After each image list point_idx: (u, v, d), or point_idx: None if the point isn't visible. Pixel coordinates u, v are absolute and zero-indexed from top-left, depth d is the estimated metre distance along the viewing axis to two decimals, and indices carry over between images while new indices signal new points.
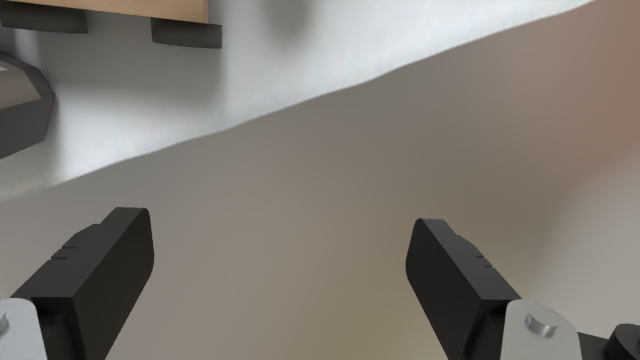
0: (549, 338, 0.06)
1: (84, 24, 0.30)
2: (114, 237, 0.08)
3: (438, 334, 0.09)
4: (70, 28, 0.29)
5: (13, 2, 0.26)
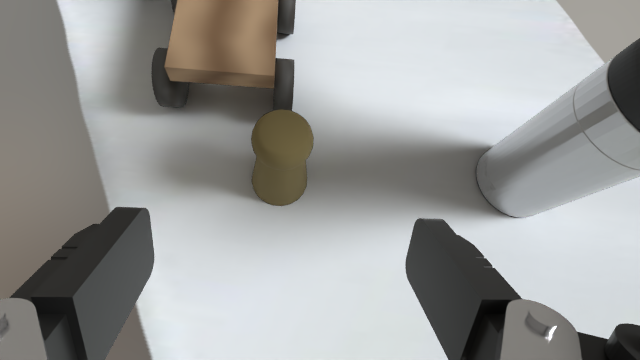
0: (549, 338, 0.06)
1: None
2: (114, 237, 0.08)
3: (438, 334, 0.09)
4: (174, 2, 0.38)
5: None
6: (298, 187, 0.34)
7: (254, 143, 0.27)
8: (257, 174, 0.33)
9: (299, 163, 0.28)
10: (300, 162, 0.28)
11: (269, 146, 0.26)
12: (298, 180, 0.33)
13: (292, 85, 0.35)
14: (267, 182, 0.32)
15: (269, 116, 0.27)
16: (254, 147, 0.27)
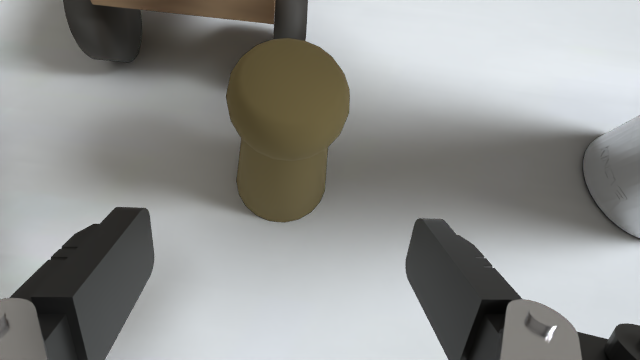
0: (549, 338, 0.06)
1: None
2: (114, 237, 0.08)
3: (438, 334, 0.09)
4: None
5: None
6: (313, 193, 0.20)
7: (230, 103, 0.13)
8: (243, 169, 0.19)
9: (322, 146, 0.14)
10: (325, 144, 0.14)
11: (262, 107, 0.12)
12: (314, 181, 0.19)
13: (304, 22, 0.21)
14: (260, 184, 0.18)
15: (262, 48, 0.13)
16: (231, 111, 0.13)
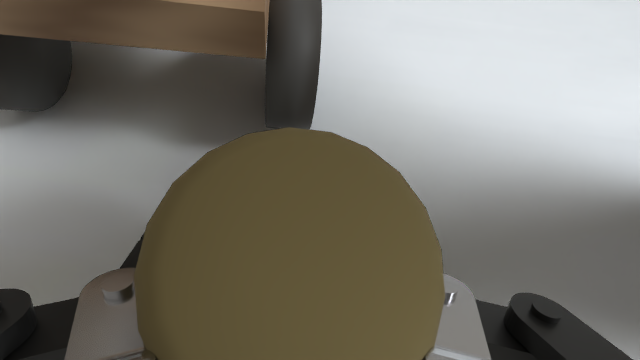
0: (446, 303, 0.07)
1: None
2: None
3: None
4: None
5: None
6: None
7: (137, 321, 0.05)
8: None
9: None
10: None
11: None
12: None
13: (317, 53, 0.13)
14: None
15: (226, 166, 0.05)
16: None
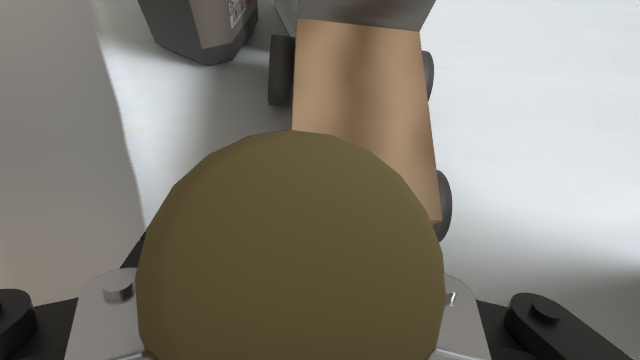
0: (446, 304, 0.07)
1: (277, 101, 0.30)
2: None
3: None
4: (272, 86, 0.28)
5: (293, 46, 0.28)
6: None
7: (138, 324, 0.05)
8: None
9: None
10: None
11: None
12: None
13: (449, 217, 0.25)
14: None
15: (228, 170, 0.05)
16: None
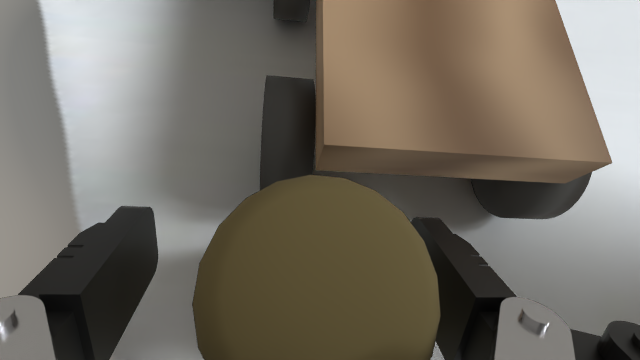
0: (542, 335, 0.06)
1: (286, 6, 0.19)
2: (119, 235, 0.08)
3: None
4: None
5: None
6: None
7: (198, 339, 0.06)
8: None
9: None
10: None
11: None
12: None
13: None
14: None
15: (266, 215, 0.06)
16: (201, 352, 0.06)
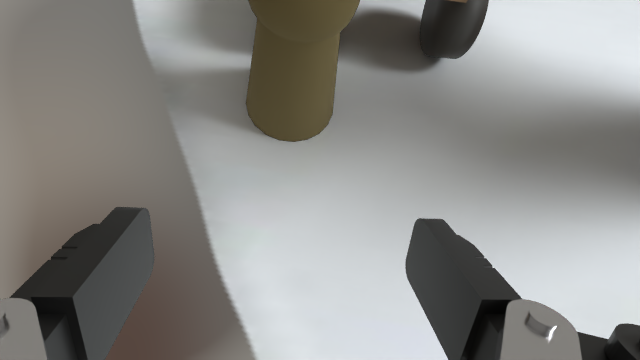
0: (549, 338, 0.06)
1: None
2: (114, 237, 0.08)
3: (438, 334, 0.09)
4: None
5: None
6: (323, 104, 0.20)
7: None
8: (255, 76, 0.19)
9: (337, 22, 0.14)
10: (339, 19, 0.14)
11: None
12: (325, 86, 0.19)
13: (486, 2, 0.22)
14: (272, 86, 0.18)
15: None
16: None
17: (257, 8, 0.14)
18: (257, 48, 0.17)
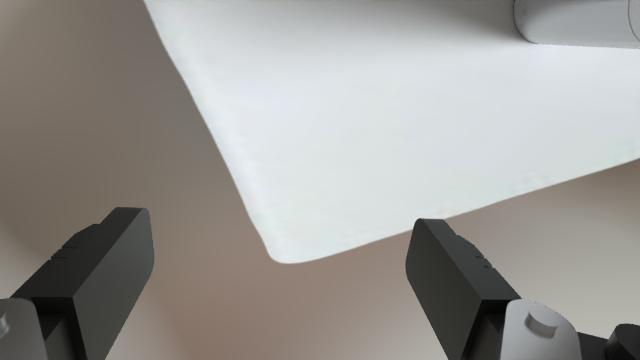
0: (549, 338, 0.06)
1: None
2: (114, 237, 0.08)
3: (438, 333, 0.09)
4: None
5: None
6: None
7: None
8: None
9: None
10: None
11: None
12: None
13: None
14: None
15: None
16: None
17: None
18: None
